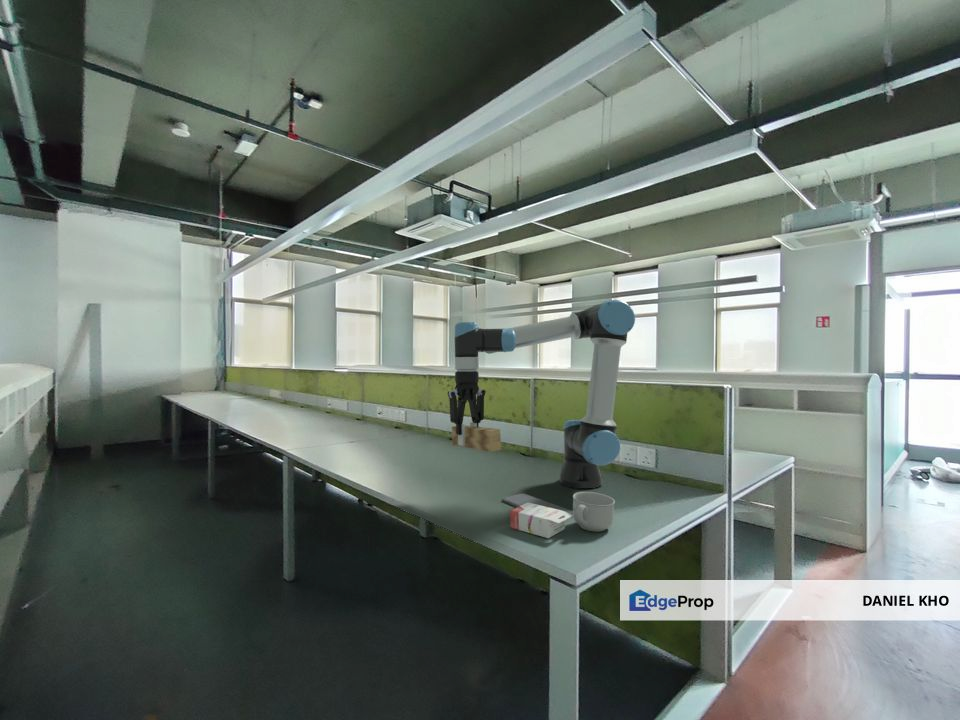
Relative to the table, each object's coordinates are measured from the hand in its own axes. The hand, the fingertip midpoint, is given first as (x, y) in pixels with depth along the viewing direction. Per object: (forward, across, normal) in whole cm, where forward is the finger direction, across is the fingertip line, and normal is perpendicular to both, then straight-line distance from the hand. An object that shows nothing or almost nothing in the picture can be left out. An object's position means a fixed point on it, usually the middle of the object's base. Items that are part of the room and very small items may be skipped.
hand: (467, 443), depth 134 cm
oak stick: (0, 0, +4) cm, 4 cm away
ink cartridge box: (+16, 0, +24) cm, 29 cm away
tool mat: (+18, -13, +18) cm, 28 cm away
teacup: (+19, -12, +38) cm, 44 cm away
